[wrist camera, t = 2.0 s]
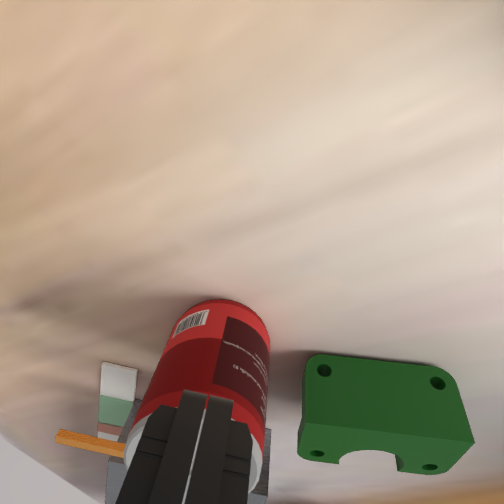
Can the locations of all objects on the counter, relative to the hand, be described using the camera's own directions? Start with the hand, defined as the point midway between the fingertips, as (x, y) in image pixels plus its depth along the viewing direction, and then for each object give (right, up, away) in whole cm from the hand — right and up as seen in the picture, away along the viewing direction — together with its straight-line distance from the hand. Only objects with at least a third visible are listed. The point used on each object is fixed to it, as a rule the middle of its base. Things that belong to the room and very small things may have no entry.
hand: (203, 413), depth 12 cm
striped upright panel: (-11, -10, +25) cm, 29 cm away
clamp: (+11, -6, +21) cm, 25 cm away
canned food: (-1, -2, +20) cm, 20 cm away
